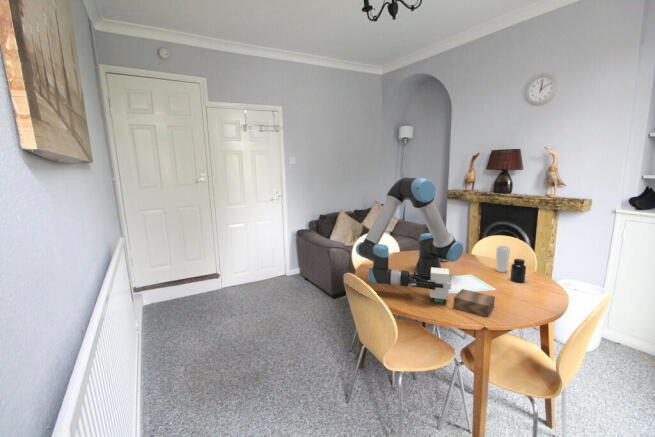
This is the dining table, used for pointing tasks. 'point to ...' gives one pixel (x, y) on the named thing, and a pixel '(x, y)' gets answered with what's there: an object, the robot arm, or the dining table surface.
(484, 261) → the dining table surface
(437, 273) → the upright white rectangular block
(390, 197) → the robot arm
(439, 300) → the teal cube
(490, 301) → the walnut stand
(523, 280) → the supplement bottle
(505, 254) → the drinking glass
